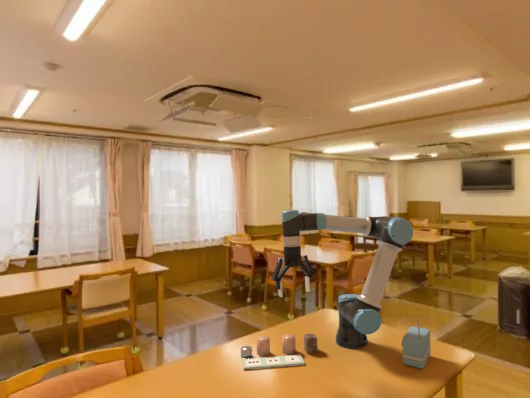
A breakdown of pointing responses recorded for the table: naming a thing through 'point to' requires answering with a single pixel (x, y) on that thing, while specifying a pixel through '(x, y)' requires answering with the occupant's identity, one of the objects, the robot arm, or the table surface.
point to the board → (273, 362)
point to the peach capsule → (289, 344)
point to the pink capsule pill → (263, 345)
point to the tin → (246, 352)
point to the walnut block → (310, 343)
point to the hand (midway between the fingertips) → (294, 294)
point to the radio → (416, 346)
